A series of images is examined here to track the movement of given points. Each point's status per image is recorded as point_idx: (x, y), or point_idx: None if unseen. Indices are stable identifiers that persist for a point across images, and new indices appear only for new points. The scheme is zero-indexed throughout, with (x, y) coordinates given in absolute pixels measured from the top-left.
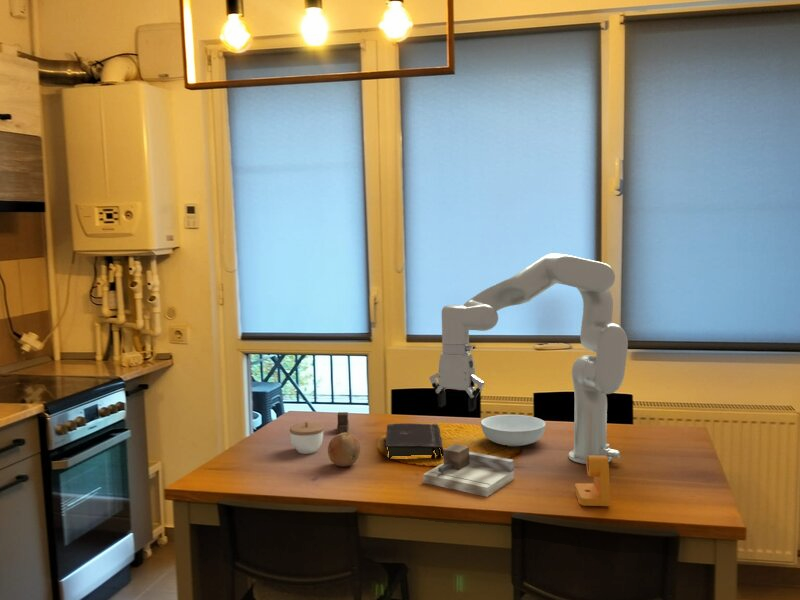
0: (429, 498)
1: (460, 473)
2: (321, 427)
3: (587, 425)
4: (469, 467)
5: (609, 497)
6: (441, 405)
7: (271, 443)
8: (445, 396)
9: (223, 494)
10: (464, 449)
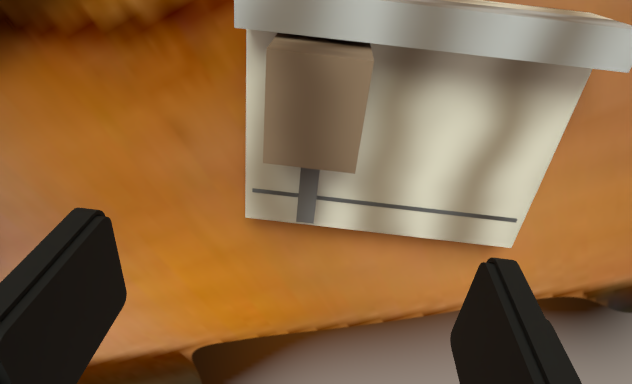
0: (331, 289)
1: (371, 160)
2: None
3: None
4: (383, 76)
5: None
6: (119, 302)
7: None
8: (45, 300)
9: None
10: (364, 117)
